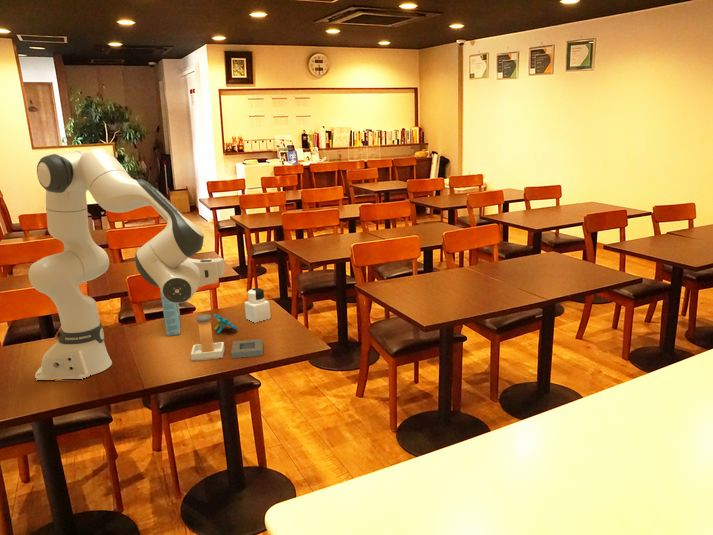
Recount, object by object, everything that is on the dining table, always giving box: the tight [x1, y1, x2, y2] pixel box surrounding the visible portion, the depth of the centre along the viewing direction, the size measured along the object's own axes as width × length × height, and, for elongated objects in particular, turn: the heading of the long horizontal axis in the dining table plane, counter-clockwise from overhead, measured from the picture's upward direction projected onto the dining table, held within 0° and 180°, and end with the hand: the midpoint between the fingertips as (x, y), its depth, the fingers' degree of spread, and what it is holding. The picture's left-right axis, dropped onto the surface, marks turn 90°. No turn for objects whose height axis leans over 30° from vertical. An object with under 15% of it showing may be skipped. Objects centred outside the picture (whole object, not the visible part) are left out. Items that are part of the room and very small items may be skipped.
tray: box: [190, 341, 225, 362], centre depth 196 cm, size 10×8×2 cm
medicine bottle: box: [244, 287, 272, 324], centre depth 226 cm, size 7×7×12 cm
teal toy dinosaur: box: [213, 313, 239, 335], centre depth 216 cm, size 11×6×10 cm
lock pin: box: [195, 313, 214, 352], centre depth 194 cm, size 5×5×13 cm
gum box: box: [159, 289, 181, 337], centre depth 221 cm, size 20×5×23 cm, turn 15°
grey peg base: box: [230, 338, 264, 359], centre depth 198 cm, size 10×10×2 cm
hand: (191, 262), depth 176 cm, fingers open, 8 cm apart
